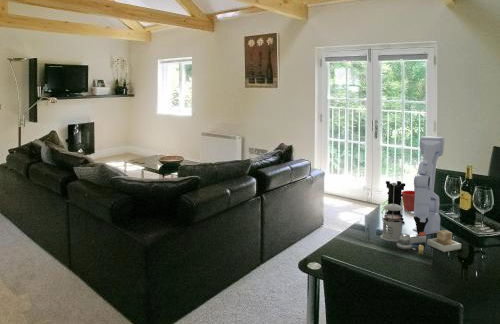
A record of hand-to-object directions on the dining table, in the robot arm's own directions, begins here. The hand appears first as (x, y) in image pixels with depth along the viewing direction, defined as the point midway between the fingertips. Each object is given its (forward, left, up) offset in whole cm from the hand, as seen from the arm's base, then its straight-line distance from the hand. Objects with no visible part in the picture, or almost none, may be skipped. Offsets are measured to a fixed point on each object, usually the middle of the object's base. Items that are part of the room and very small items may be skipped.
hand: (419, 233), depth 167 cm
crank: (+6, +2, -2) cm, 7 cm away
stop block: (-5, +8, -3) cm, 10 cm away
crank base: (+10, +5, -4) cm, 12 cm away
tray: (-5, +8, -4) cm, 10 cm away
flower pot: (-34, -42, -4) cm, 54 cm away
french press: (+7, -10, -4) cm, 13 cm away
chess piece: (-10, -28, -4) cm, 30 cm away
